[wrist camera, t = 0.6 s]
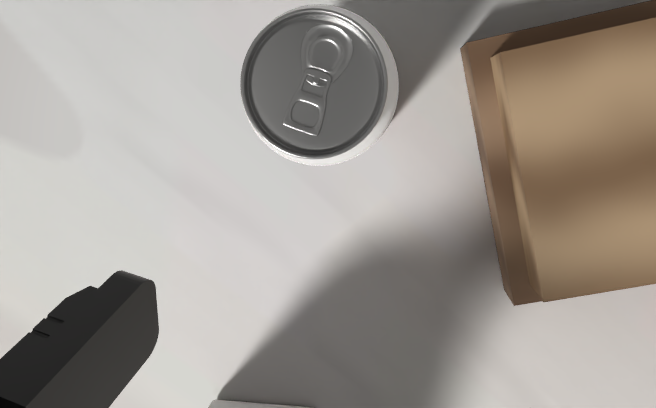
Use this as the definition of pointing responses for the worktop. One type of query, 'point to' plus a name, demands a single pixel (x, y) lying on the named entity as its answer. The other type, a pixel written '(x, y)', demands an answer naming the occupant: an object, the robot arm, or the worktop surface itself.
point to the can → (319, 85)
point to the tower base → (569, 151)
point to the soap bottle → (246, 405)
